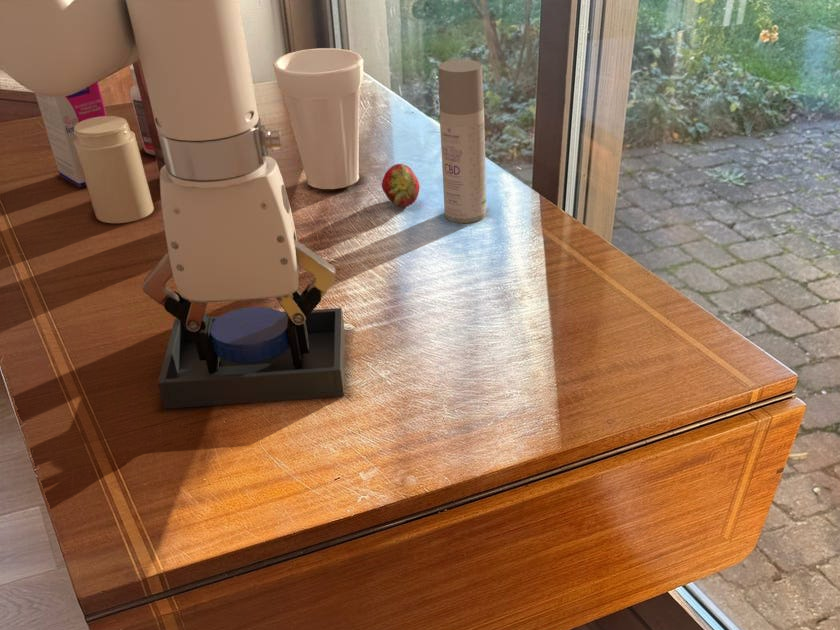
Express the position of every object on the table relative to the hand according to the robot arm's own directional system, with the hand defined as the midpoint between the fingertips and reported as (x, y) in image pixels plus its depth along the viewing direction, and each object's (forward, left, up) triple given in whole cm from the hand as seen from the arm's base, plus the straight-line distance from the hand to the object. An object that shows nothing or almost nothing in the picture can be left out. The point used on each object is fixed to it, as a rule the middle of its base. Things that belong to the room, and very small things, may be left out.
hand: (256, 361), depth 87 cm
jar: (-18, +38, -1) cm, 42 cm away
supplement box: (-24, +50, -1) cm, 55 cm away
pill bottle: (-16, +58, -1) cm, 60 cm away
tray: (0, 0, -1) cm, 1 cm away
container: (+21, +31, -1) cm, 38 cm away
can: (-12, +47, -1) cm, 48 cm away
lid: (0, 0, +3) cm, 3 cm away
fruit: (+14, +35, -1) cm, 38 cm away
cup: (+6, +43, -1) cm, 43 cm away
